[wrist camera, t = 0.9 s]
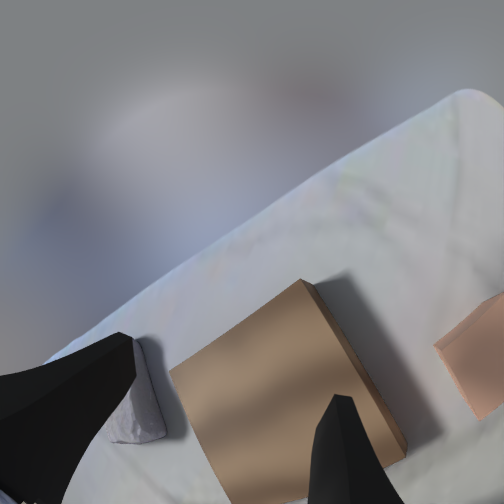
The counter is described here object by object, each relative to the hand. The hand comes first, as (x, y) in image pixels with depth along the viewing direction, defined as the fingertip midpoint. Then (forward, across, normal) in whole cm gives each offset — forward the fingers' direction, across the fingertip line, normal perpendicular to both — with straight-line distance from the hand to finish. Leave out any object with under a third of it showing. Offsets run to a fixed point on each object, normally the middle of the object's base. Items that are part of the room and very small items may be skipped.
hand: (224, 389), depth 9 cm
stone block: (+12, +13, +20) cm, 27 cm away
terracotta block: (+7, -14, +1) cm, 16 cm away
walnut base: (+8, -3, +10) cm, 13 cm away
